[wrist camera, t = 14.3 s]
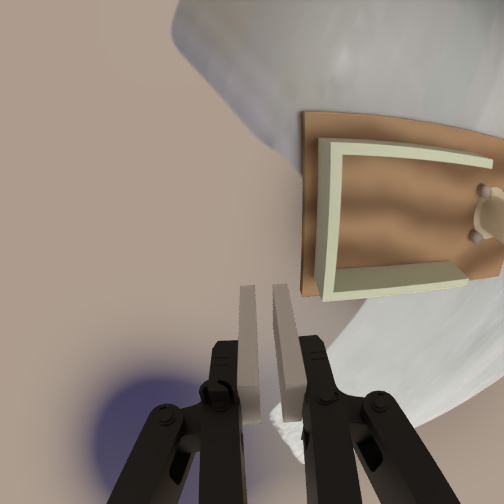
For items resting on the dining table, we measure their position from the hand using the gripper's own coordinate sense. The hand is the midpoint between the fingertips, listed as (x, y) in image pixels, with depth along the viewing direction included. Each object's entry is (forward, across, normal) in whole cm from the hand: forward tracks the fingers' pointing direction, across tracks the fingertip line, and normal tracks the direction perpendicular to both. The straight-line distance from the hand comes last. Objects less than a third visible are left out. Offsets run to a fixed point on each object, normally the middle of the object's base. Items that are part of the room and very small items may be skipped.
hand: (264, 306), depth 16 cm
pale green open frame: (+15, +15, 0) cm, 21 cm away
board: (+16, +21, 0) cm, 27 cm away
